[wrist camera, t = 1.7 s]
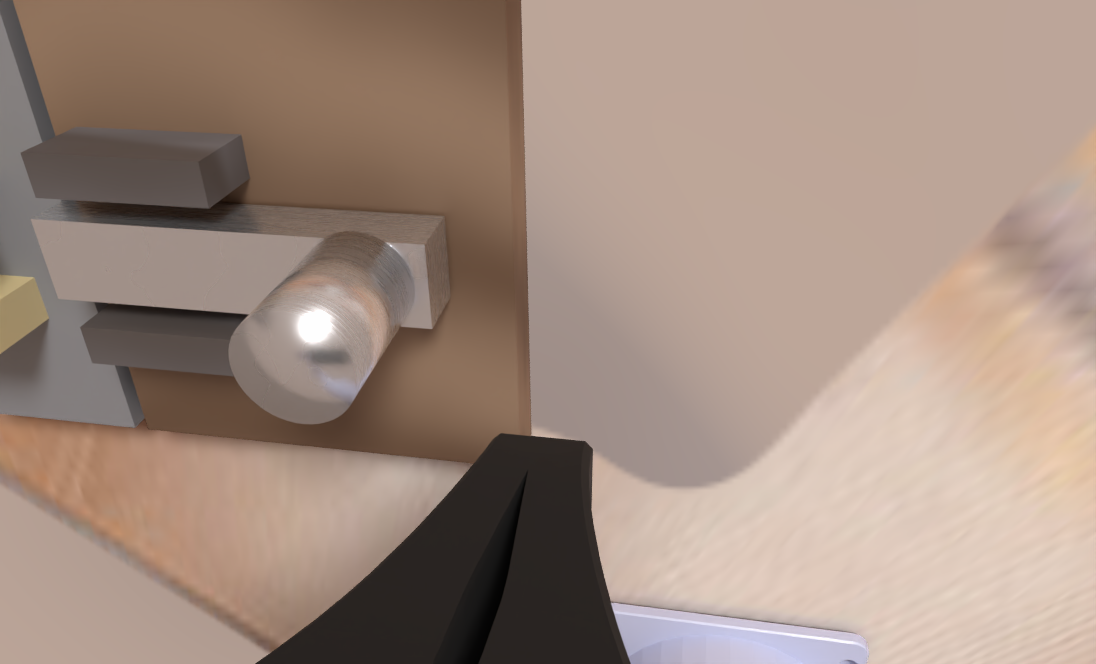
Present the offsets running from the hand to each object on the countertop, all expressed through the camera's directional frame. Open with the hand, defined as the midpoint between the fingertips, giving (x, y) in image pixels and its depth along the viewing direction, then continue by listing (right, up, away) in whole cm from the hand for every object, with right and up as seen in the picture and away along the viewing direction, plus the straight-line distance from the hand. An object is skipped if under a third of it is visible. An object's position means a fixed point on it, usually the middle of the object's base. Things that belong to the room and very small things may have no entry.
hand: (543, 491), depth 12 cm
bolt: (-7, +4, +7) cm, 11 cm away
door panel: (-6, +5, +9) cm, 12 cm away
